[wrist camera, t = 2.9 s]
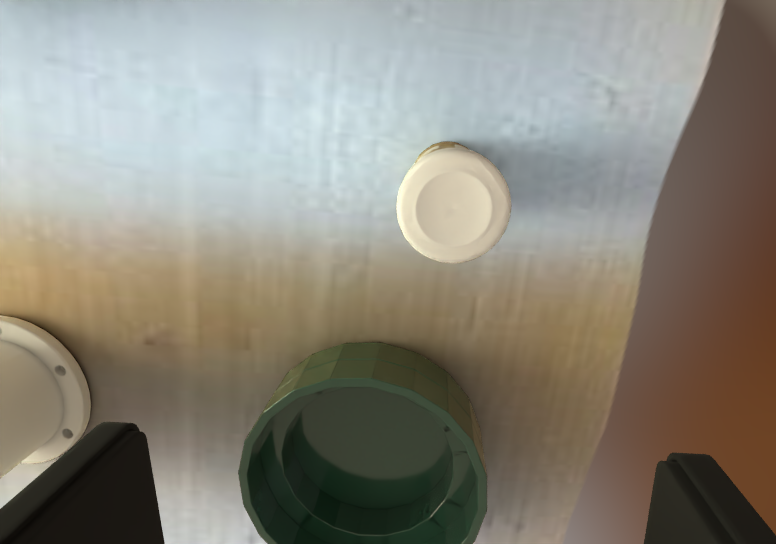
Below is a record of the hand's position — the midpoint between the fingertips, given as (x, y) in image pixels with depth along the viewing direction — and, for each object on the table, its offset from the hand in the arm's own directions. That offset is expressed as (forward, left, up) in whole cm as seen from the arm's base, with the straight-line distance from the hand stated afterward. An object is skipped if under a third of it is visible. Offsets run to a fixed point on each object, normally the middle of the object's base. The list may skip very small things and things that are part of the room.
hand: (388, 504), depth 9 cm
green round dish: (+6, -15, -25) cm, 30 cm away
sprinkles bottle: (-1, +4, -26) cm, 26 cm away
